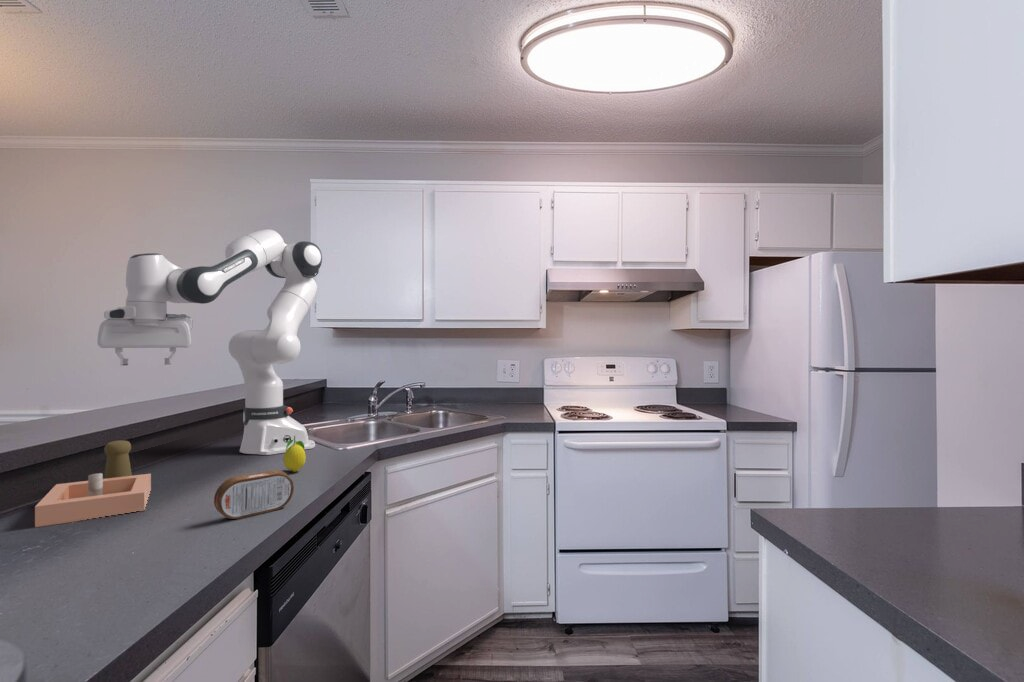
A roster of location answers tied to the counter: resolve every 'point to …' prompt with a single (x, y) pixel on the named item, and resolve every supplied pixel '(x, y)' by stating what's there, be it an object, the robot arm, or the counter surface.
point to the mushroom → (95, 484)
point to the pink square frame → (93, 500)
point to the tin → (253, 494)
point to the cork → (117, 459)
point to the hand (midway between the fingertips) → (146, 365)
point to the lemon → (294, 455)
